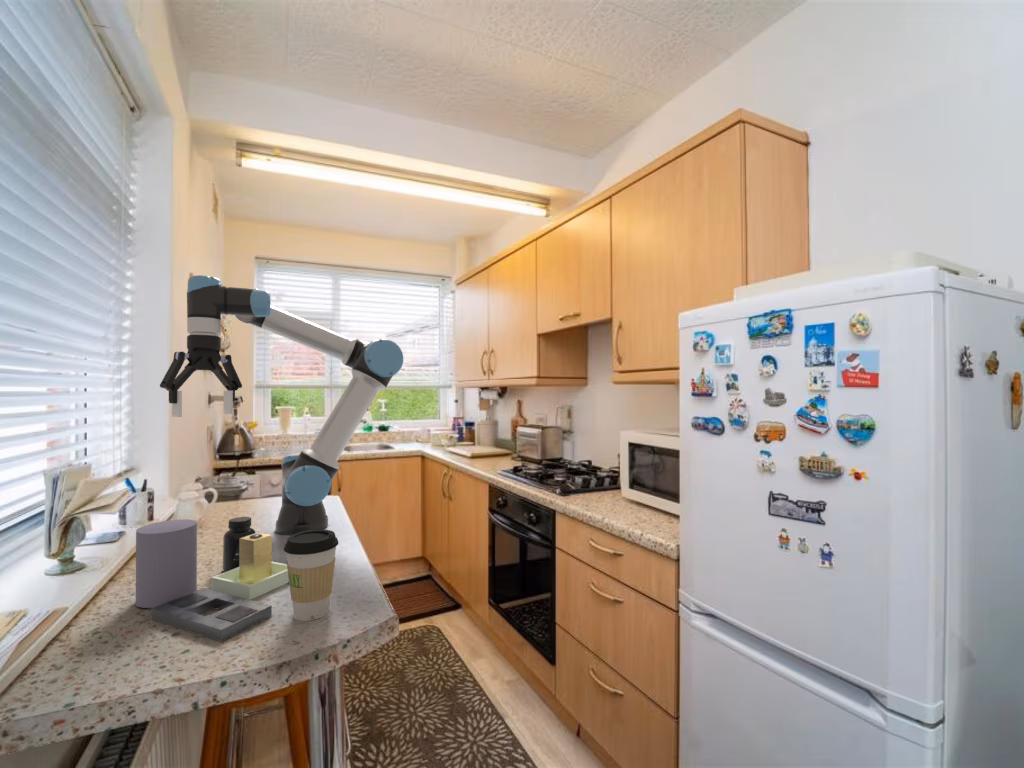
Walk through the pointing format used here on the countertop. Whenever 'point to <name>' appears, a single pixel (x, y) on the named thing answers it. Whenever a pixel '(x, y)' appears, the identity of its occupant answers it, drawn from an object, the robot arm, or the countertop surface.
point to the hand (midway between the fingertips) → (203, 415)
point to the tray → (232, 586)
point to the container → (165, 561)
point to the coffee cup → (311, 572)
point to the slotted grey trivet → (217, 625)
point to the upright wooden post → (255, 558)
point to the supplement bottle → (235, 541)
